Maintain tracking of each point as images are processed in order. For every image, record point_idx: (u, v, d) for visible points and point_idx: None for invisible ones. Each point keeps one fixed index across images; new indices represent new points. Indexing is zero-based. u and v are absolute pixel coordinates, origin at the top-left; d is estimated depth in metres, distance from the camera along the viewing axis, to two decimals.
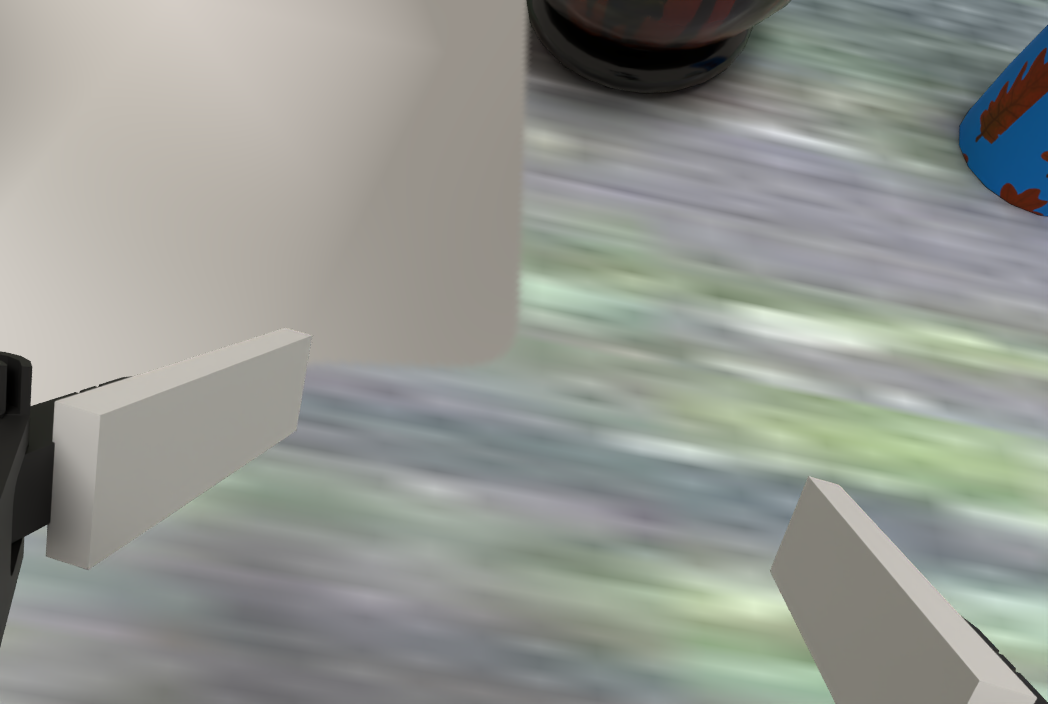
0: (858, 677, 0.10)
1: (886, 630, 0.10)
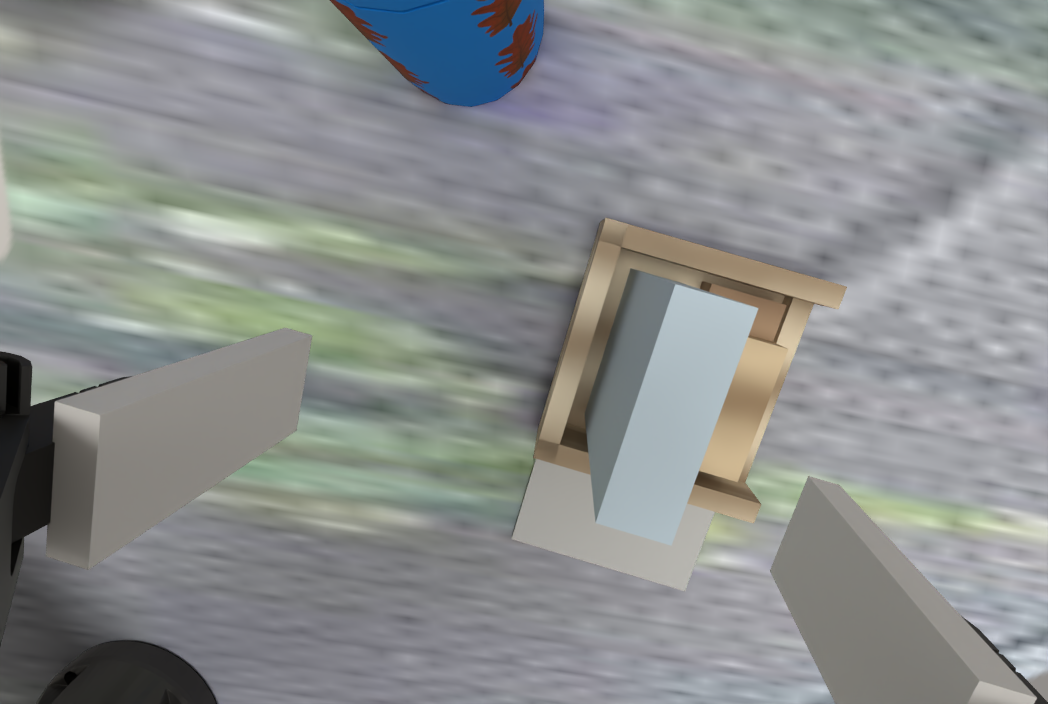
0: (858, 677, 0.10)
1: (886, 630, 0.10)
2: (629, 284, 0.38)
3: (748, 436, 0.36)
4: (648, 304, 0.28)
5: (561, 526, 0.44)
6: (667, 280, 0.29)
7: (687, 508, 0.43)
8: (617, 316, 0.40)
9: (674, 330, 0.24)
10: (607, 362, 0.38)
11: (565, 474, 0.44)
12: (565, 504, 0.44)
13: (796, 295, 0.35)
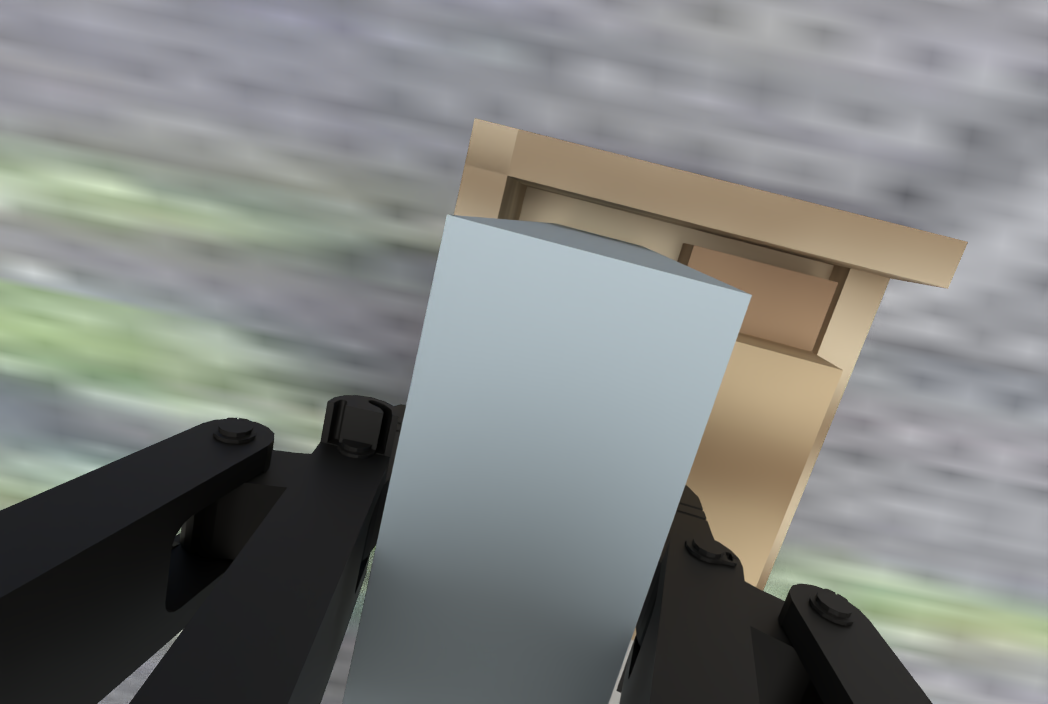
0: None
1: None
2: None
3: (764, 534, 0.19)
4: None
5: None
6: (544, 227, 0.12)
7: None
8: None
9: (459, 377, 0.07)
10: None
11: None
12: None
13: (860, 262, 0.17)
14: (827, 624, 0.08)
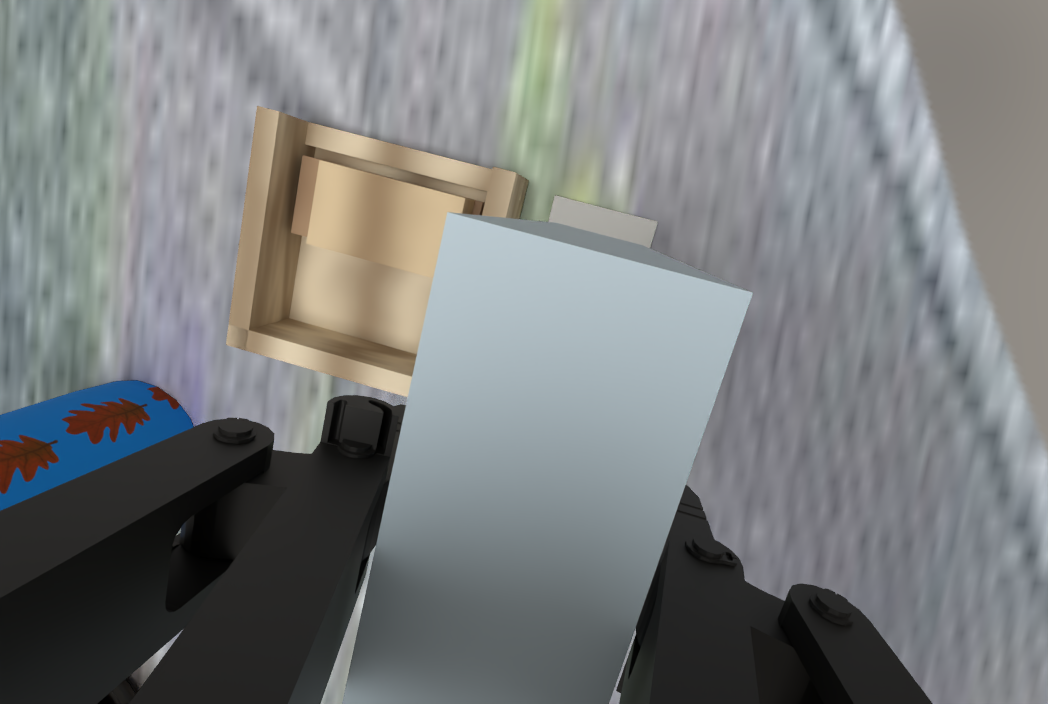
0: None
1: None
2: None
3: (413, 191, 0.34)
4: None
5: None
6: (544, 226, 0.12)
7: None
8: None
9: (460, 375, 0.07)
10: None
11: None
12: None
13: (271, 156, 0.35)
14: (827, 624, 0.08)
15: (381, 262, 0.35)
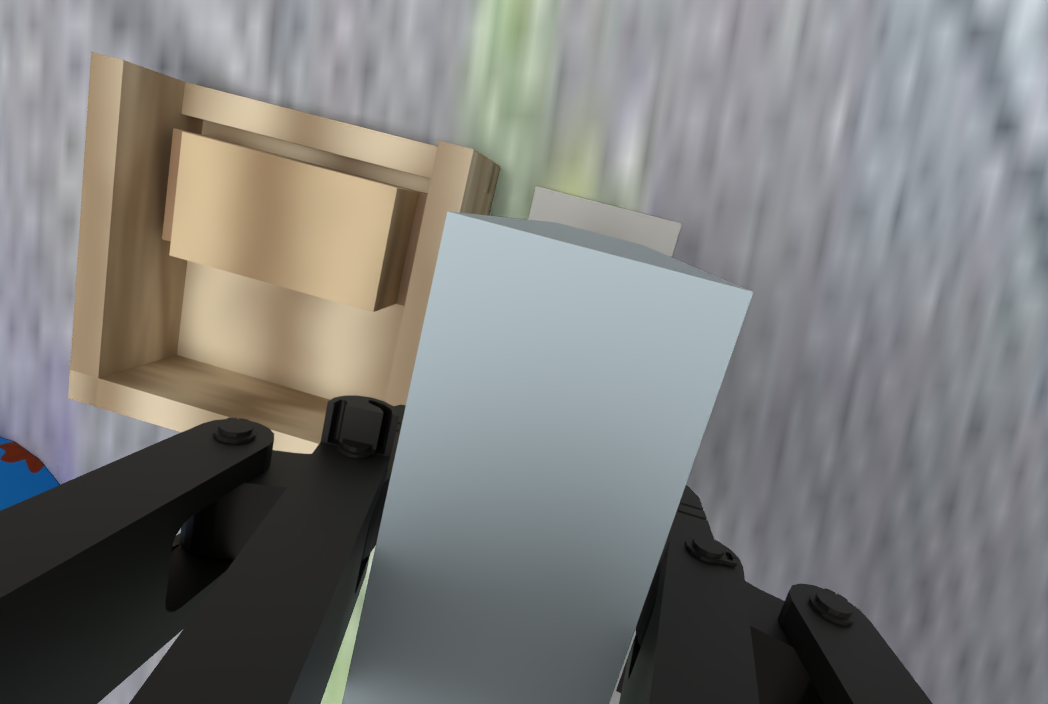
0: None
1: None
2: None
3: (320, 178, 0.23)
4: None
5: None
6: (545, 226, 0.12)
7: None
8: None
9: (460, 375, 0.07)
10: None
11: None
12: None
13: (115, 128, 0.24)
14: (827, 624, 0.08)
15: (278, 282, 0.24)
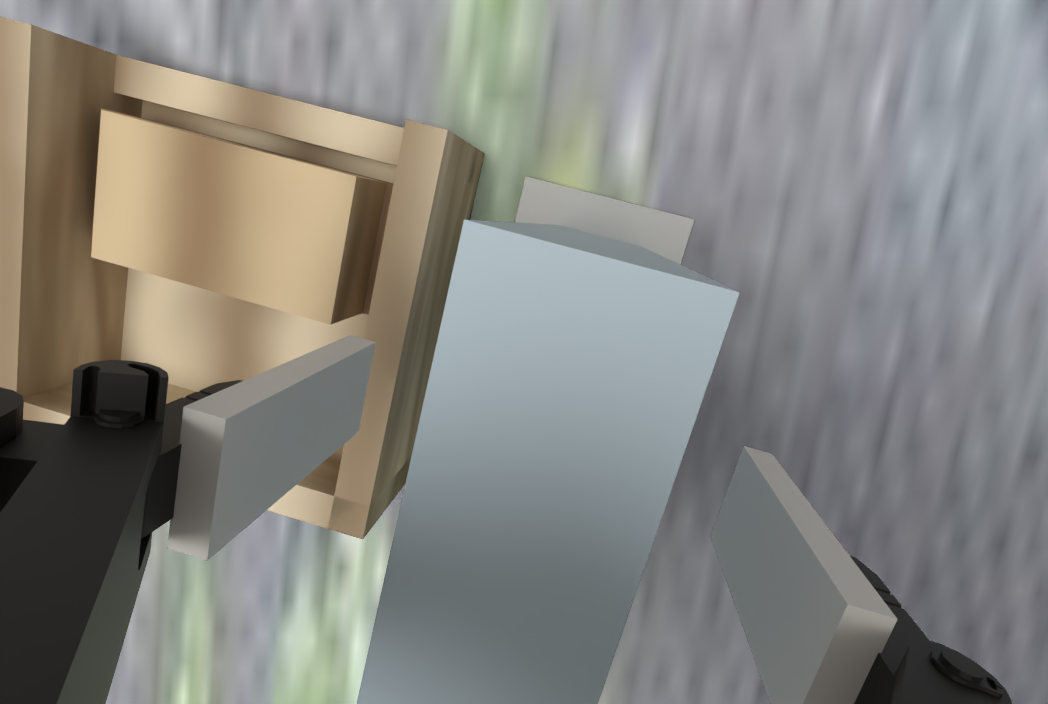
0: (766, 618, 0.11)
1: (788, 573, 0.11)
2: None
3: (264, 164, 0.19)
4: None
5: None
6: (549, 230, 0.12)
7: None
8: None
9: (474, 367, 0.08)
10: None
11: None
12: None
13: (24, 106, 0.20)
14: None
15: (219, 289, 0.20)
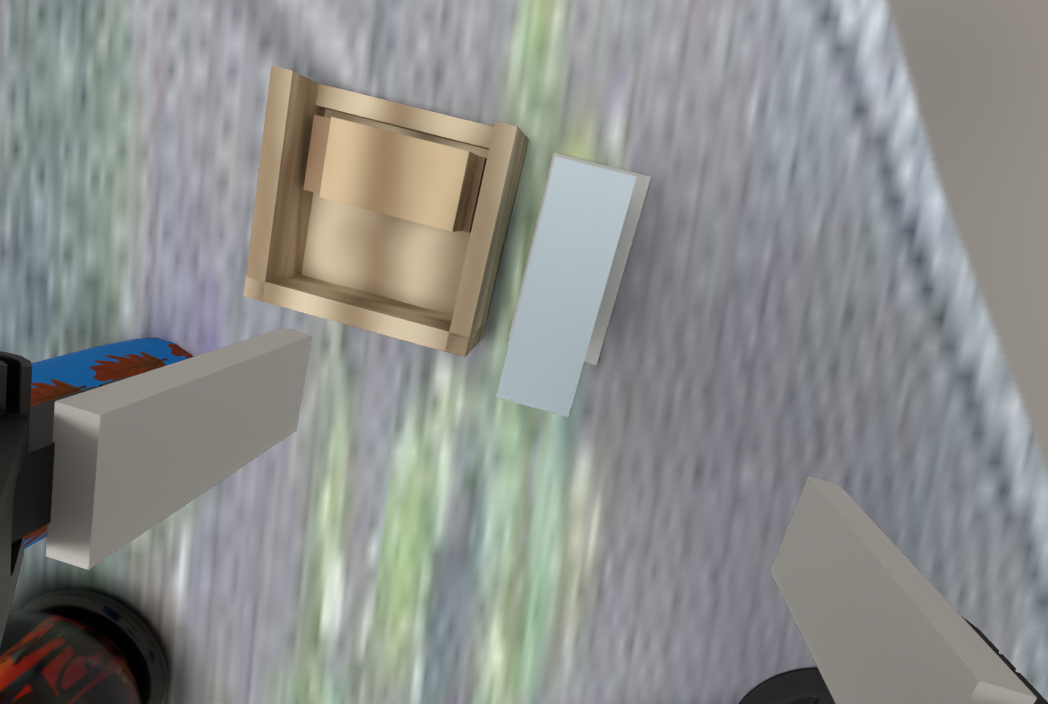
0: (858, 677, 0.10)
1: (886, 630, 0.10)
2: None
3: (420, 145, 0.36)
4: None
5: None
6: None
7: None
8: None
9: (557, 203, 0.25)
10: None
11: None
12: None
13: (285, 114, 0.37)
14: None
15: (390, 213, 0.37)
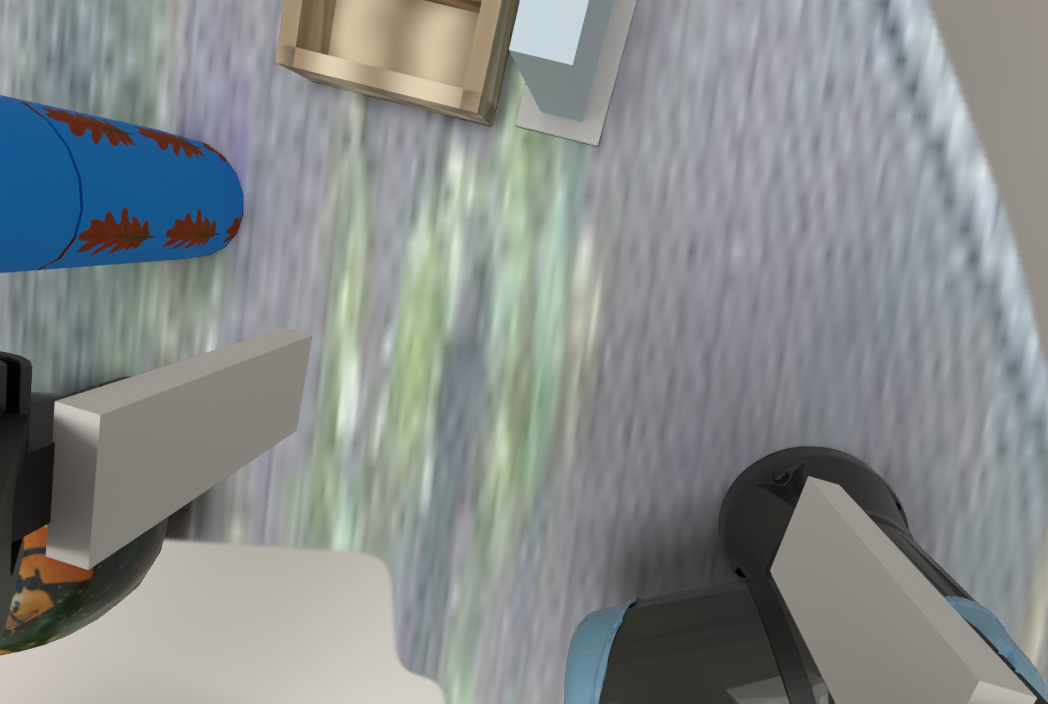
0: (858, 677, 0.10)
1: (886, 630, 0.10)
2: None
3: None
4: None
5: None
6: None
7: None
8: None
9: None
10: None
11: (529, 95, 0.47)
12: None
13: None
14: None
15: None
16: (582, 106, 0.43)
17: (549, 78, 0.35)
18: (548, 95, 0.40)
